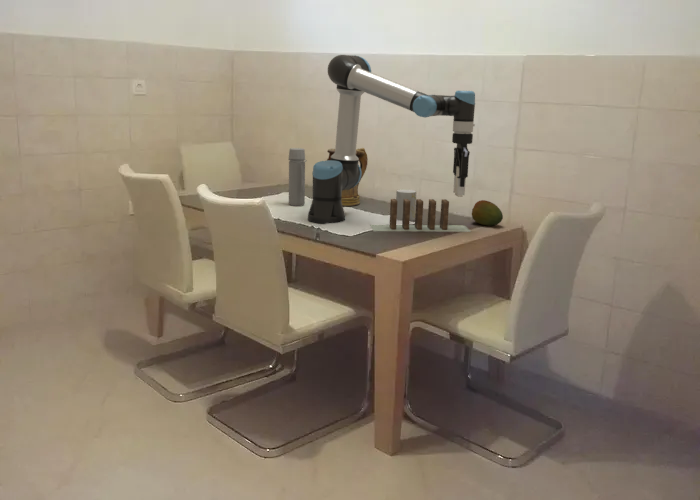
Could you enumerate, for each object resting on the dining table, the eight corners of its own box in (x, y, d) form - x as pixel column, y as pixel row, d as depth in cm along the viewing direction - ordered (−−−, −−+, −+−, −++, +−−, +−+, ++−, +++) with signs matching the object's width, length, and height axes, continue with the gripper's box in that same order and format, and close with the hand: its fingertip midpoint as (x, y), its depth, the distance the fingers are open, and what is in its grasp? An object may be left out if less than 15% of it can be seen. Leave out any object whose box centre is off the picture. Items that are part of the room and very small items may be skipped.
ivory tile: (458, 196, 259) (459, 168, 256) (454, 194, 264) (456, 166, 261) (462, 196, 259) (464, 168, 257) (459, 194, 264) (461, 166, 261)
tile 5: (442, 229, 262) (444, 201, 259) (439, 227, 267) (441, 199, 264) (447, 229, 262) (449, 201, 259) (444, 227, 267) (446, 199, 264)
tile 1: (391, 229, 260) (392, 201, 257) (389, 226, 265) (390, 198, 262) (396, 229, 260) (397, 201, 257) (394, 226, 265) (395, 198, 262)
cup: (413, 222, 276) (415, 193, 273) (393, 221, 277) (395, 191, 274) (415, 218, 284) (417, 190, 281) (396, 217, 285) (398, 188, 282)
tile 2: (404, 229, 260) (405, 201, 258) (402, 226, 265) (403, 198, 262) (409, 229, 261) (410, 201, 258) (406, 226, 265) (408, 199, 263)
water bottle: (284, 204, 306) (285, 148, 300) (300, 202, 310) (300, 147, 304) (294, 207, 299) (295, 150, 292) (310, 206, 303) (311, 149, 297)
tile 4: (430, 229, 261) (431, 201, 259) (427, 226, 266) (428, 199, 264) (434, 229, 262) (436, 201, 259) (431, 226, 266) (433, 199, 264)
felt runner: (373, 232, 257) (373, 230, 257) (369, 225, 267) (369, 224, 267) (471, 232, 261) (471, 231, 261) (464, 226, 271) (464, 225, 271)
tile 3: (417, 229, 261) (418, 201, 258) (414, 226, 266) (416, 199, 263) (421, 229, 261) (423, 201, 258) (419, 226, 266) (420, 199, 263)
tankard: (312, 201, 314) (313, 147, 308) (353, 197, 327) (355, 145, 321) (334, 208, 300) (335, 151, 294) (376, 204, 313) (378, 149, 307)
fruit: (474, 221, 282) (476, 197, 280) (504, 224, 278) (506, 200, 275) (467, 226, 272) (469, 201, 269) (499, 229, 267) (501, 204, 265)
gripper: (479, 134, 247) (474, 198, 253) (466, 130, 265) (462, 190, 271) (459, 134, 247) (455, 197, 252) (447, 130, 264) (443, 189, 270)
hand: (458, 193), depth 261 cm, fingers closed on ivory tile, 5 cm apart
